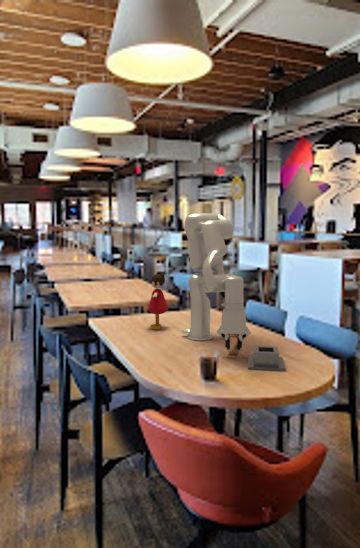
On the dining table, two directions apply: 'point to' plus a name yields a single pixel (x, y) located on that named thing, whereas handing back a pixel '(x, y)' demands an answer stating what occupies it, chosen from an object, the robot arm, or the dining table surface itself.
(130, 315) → the dining table surface
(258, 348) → the flange socket
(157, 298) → the toy
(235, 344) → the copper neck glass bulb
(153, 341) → the dining table surface
